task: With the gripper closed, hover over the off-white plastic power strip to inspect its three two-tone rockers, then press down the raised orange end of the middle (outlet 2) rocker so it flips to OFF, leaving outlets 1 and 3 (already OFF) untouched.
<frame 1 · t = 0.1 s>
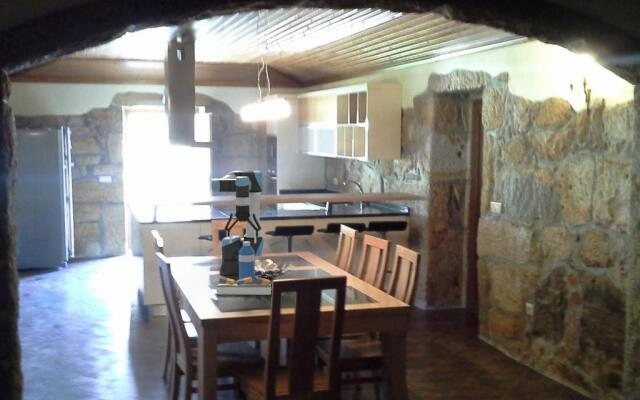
hand: (243, 242, 382), 28 cm above the table, fingers open, 13 cm apart
rocker 2: (244, 280, 385), point 6 cm above the table, hinge at 15.0°
rocker 3: (262, 280, 384), point 6 cm above the table, hinge at -15.0°
power strip: (244, 292, 385), on the table
rocker 1: (226, 280, 385), point 6 cm above the table, hinge at -15.0°
water bottle: (246, 284, 405), on the table
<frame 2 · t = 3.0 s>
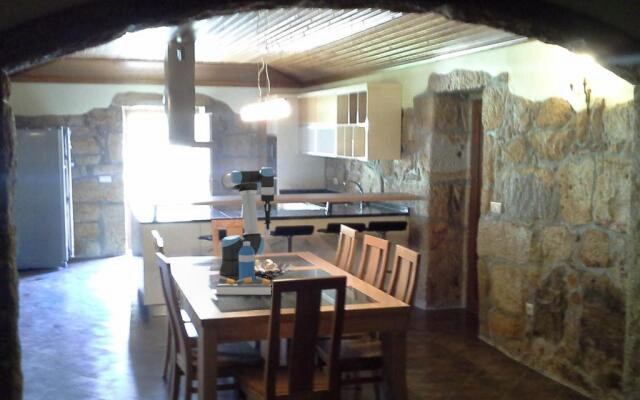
hand: (267, 234, 401), 30 cm above the table, fingers closed
nothing on the table moved.
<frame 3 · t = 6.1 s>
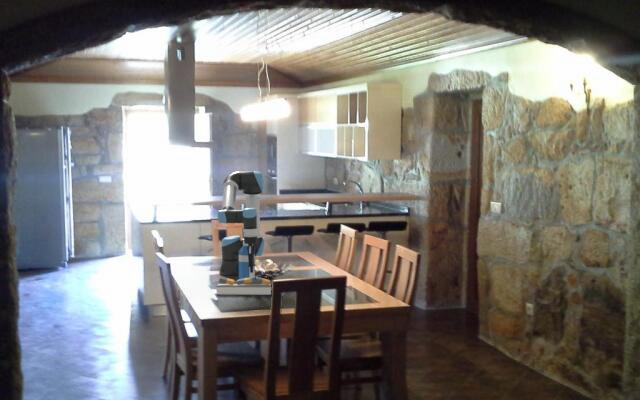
hand: (252, 277, 384), 8 cm above the table, fingers closed
rocker 2: (244, 280, 385), point 6 cm above the table, hinge at 10.9°, touching gripper
everything else where it was.
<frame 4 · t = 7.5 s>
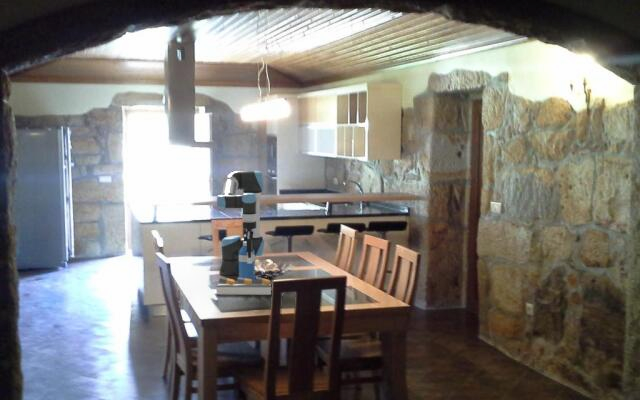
hand: (249, 263, 384), 16 cm above the table, fingers closed
rocker 2: (244, 280, 385), point 6 cm above the table, hinge at -8.6°
everything else where it was.
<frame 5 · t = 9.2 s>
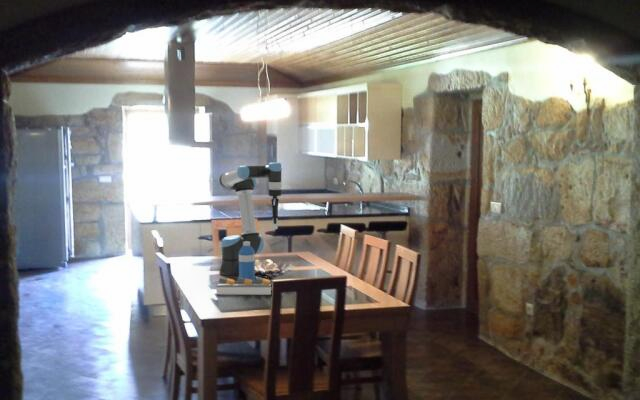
hand: (275, 228, 406), 32 cm above the table, fingers closed
rocker 2: (244, 280, 385), point 6 cm above the table, hinge at -14.5°
everything else where it was.
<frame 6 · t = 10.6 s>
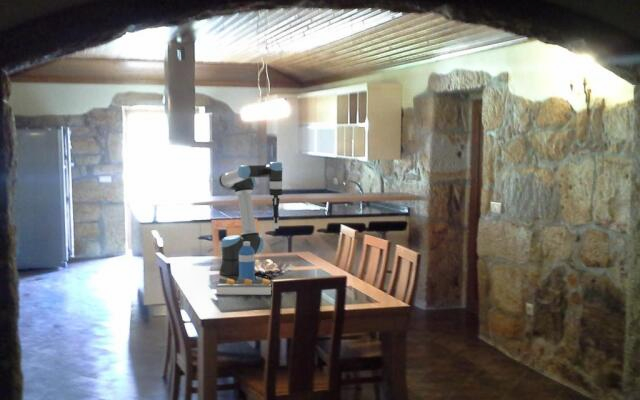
hand: (276, 228, 406), 32 cm above the table, fingers closed
rocker 2: (244, 280, 385), point 6 cm above the table, hinge at -16.0°
everything else where it was.
at the end: rocker 2 at -16° (first picture: +15°); rocker 1 at -15° (first picture: -15°); rocker 3 at -15° (first picture: -15°) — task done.
